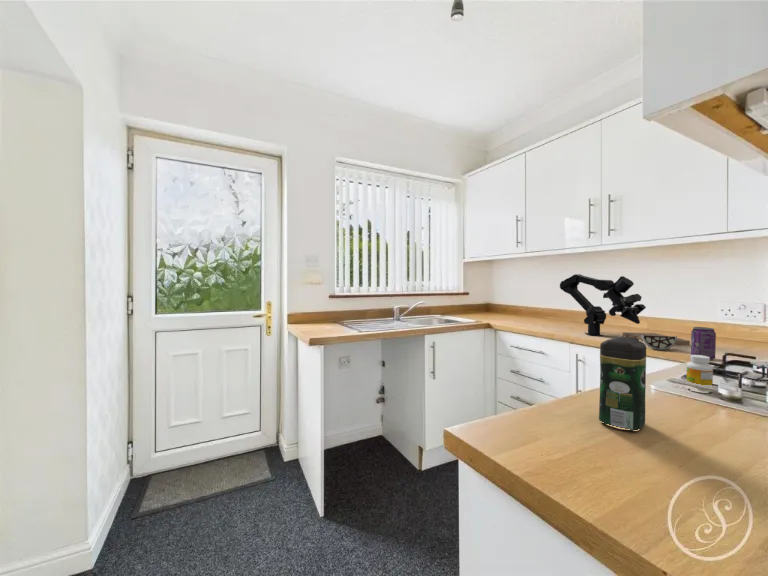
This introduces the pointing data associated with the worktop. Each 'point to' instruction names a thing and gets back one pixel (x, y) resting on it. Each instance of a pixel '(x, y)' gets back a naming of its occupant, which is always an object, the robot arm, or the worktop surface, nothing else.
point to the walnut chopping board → (638, 335)
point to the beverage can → (703, 342)
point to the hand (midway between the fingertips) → (638, 323)
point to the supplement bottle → (700, 370)
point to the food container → (659, 341)
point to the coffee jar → (622, 382)
